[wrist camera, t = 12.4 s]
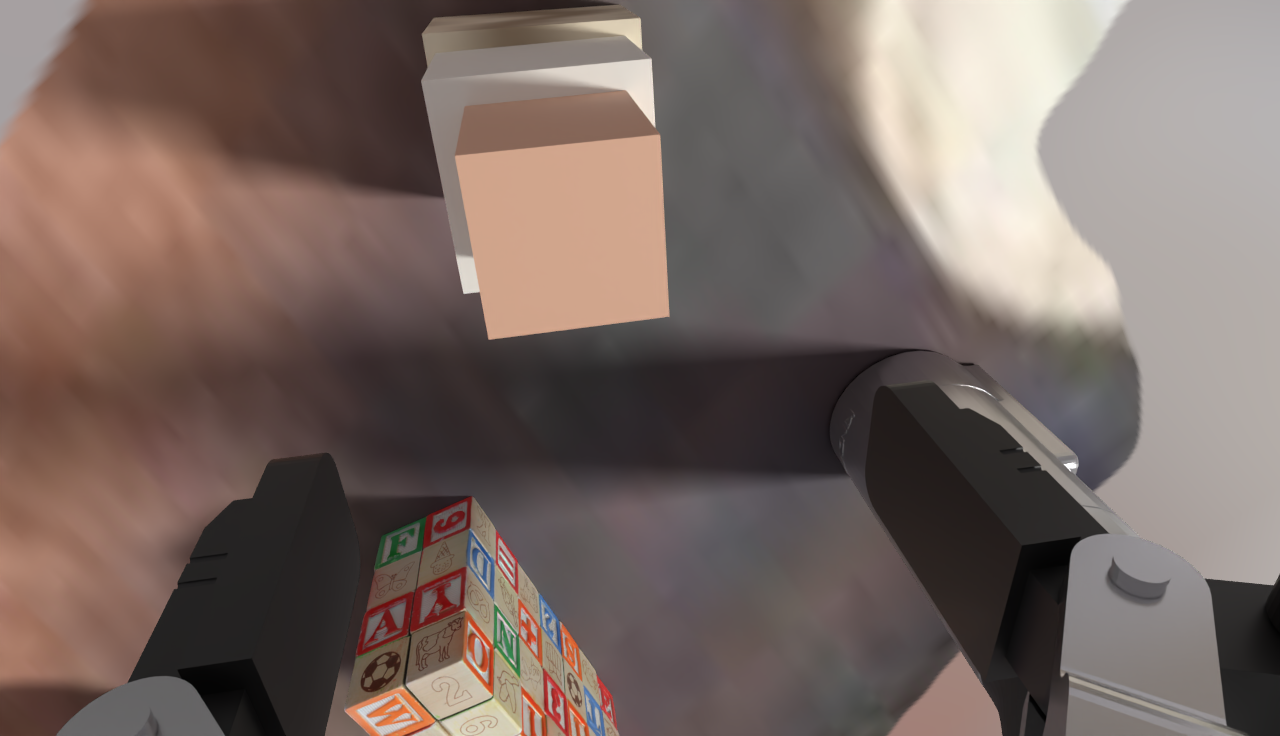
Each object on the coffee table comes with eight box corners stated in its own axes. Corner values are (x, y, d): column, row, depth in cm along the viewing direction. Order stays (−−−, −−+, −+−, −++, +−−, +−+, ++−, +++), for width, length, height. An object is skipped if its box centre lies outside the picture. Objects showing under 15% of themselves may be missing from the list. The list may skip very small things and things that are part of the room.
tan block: (625, 90, 24) (660, 134, 19) (636, 241, 27) (669, 316, 22) (464, 106, 24) (454, 155, 18) (491, 258, 26) (488, 339, 21)
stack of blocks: (615, 693, 56) (642, 870, 46) (538, 726, 57) (546, 908, 46) (471, 492, 46) (462, 662, 35) (377, 533, 46) (340, 714, 35)
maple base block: (619, 4, 34) (640, 18, 29) (629, 183, 38) (649, 223, 33) (434, 17, 33) (421, 34, 28) (464, 199, 37) (459, 243, 32)
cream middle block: (624, 35, 29) (651, 58, 24) (637, 215, 32) (663, 269, 27) (435, 52, 28) (420, 81, 23) (469, 234, 32) (463, 293, 27)
